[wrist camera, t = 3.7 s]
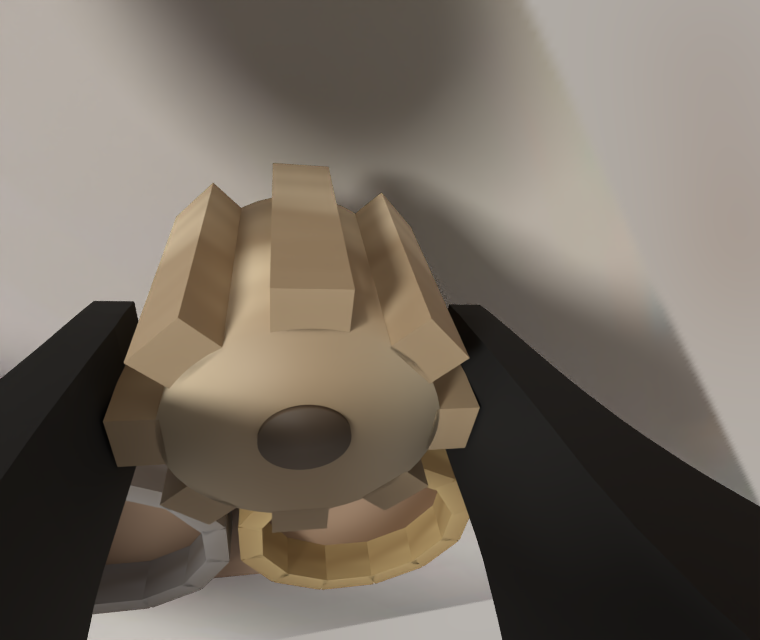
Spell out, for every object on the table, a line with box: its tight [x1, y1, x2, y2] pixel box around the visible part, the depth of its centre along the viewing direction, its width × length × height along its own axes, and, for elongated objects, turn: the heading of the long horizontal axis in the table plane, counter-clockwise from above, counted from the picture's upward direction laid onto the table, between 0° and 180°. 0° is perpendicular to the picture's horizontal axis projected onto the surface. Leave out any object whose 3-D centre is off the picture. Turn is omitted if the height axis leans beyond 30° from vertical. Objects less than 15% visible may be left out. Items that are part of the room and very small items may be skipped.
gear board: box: [92, 449, 469, 614], centre depth 18 cm, size 18×11×2 cm, turn 83°
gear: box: [103, 163, 480, 533], centre depth 9 cm, size 5×5×4 cm
